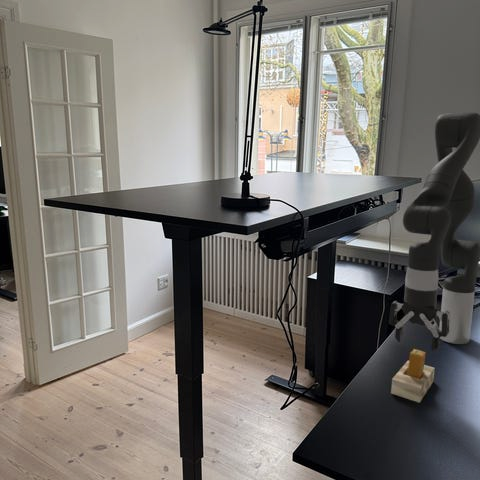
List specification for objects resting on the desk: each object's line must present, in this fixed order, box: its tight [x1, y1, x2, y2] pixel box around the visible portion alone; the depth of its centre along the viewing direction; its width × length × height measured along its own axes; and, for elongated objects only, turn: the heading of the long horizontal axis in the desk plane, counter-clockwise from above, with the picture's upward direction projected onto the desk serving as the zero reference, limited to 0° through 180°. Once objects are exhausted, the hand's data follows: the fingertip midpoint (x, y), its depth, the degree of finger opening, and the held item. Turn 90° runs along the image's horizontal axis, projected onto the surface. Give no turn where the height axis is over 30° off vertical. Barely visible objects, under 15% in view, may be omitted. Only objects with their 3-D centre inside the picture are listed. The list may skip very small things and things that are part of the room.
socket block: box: [390, 360, 435, 404], centre depth 115 cm, size 13×7×4 cm, turn 143°
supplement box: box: [407, 348, 427, 379], centre depth 114 cm, size 3×3×10 cm
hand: (416, 345), depth 113 cm, fingers open, 8 cm apart
